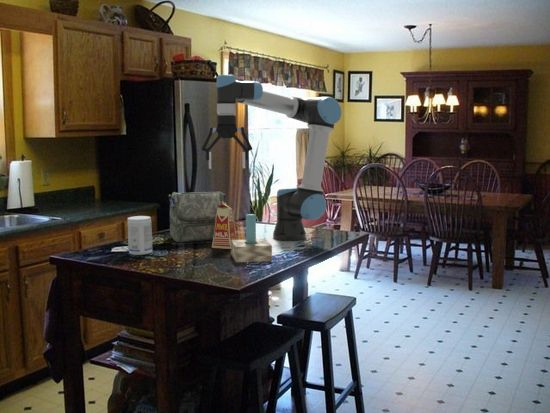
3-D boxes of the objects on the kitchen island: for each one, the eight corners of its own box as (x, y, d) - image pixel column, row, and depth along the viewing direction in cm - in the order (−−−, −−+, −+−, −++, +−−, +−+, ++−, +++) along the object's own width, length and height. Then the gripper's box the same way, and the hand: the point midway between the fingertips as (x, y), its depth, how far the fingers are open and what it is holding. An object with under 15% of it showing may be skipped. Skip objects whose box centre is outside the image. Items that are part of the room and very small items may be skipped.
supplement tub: (149, 249, 260) (148, 215, 258) (155, 254, 252) (154, 218, 250) (126, 251, 256) (124, 216, 254) (131, 256, 248) (130, 220, 246)
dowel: (255, 251, 247) (254, 214, 245) (256, 253, 243) (256, 215, 241) (245, 251, 246) (245, 214, 244) (247, 253, 243) (246, 215, 240)
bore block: (265, 253, 253) (265, 238, 252) (271, 260, 240) (271, 245, 239) (231, 254, 250) (231, 240, 250) (235, 262, 237) (235, 246, 236)
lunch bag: (172, 243, 273) (171, 194, 270) (166, 236, 290) (164, 190, 287) (229, 240, 281) (229, 192, 278) (220, 233, 298) (219, 188, 295)
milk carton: (232, 248, 262) (231, 202, 259) (211, 248, 264) (210, 201, 261) (237, 244, 271) (237, 199, 268) (217, 243, 273) (216, 198, 270)
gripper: (255, 114, 252) (256, 167, 254) (194, 114, 247) (195, 168, 250) (259, 114, 244) (259, 168, 247) (195, 114, 239) (196, 169, 242)
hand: (227, 168), depth 248 cm, fingers open, 13 cm apart
